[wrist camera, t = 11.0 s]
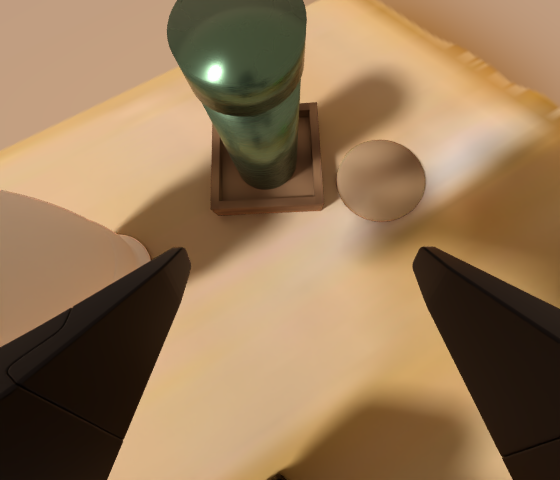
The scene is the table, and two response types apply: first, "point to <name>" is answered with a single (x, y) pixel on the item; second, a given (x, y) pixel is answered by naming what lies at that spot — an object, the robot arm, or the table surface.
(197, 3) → the tea canister
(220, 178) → the walnut tray
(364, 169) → the cork coaster
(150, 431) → the table surface
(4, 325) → the jar
